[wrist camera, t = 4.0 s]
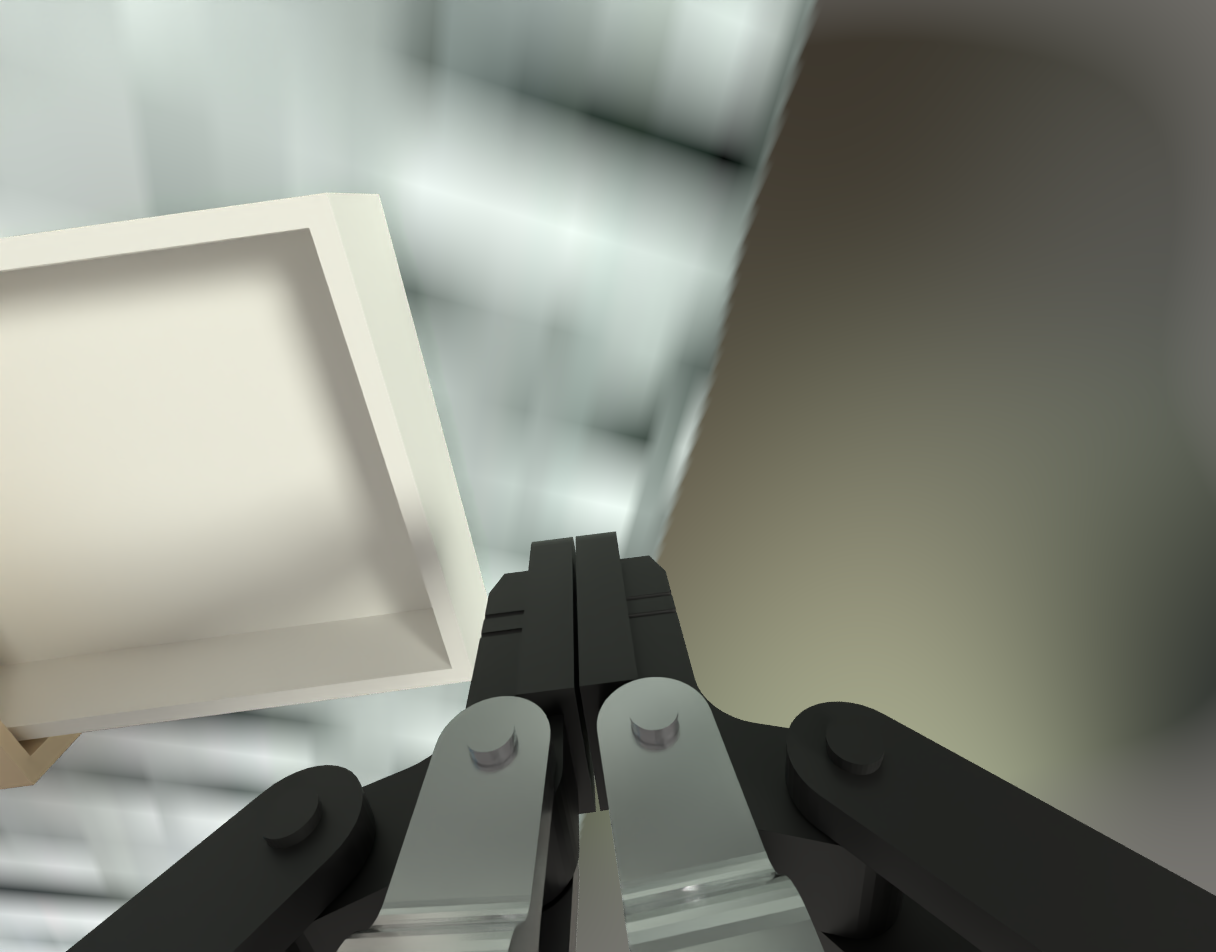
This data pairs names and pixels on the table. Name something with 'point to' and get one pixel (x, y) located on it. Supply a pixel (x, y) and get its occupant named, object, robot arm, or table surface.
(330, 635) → the tray
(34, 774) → the mailer sleeve
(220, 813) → the table surface
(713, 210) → the table surface
